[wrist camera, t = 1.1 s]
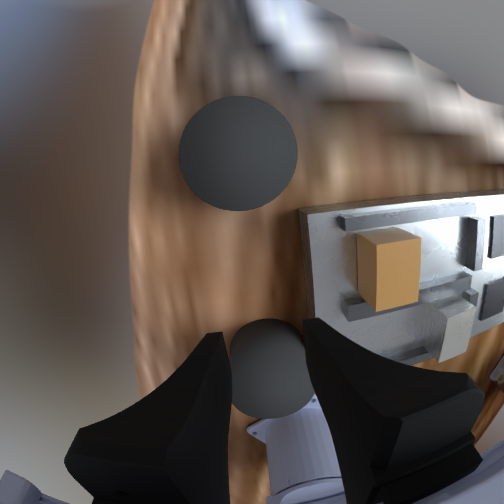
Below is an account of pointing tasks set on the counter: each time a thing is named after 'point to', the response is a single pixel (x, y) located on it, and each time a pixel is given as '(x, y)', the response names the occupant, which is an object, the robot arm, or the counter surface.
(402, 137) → the counter surface
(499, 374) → the coffee box
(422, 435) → the robot arm
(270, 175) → the pair of grey cylinders
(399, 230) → the toggle
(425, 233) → the power strip
